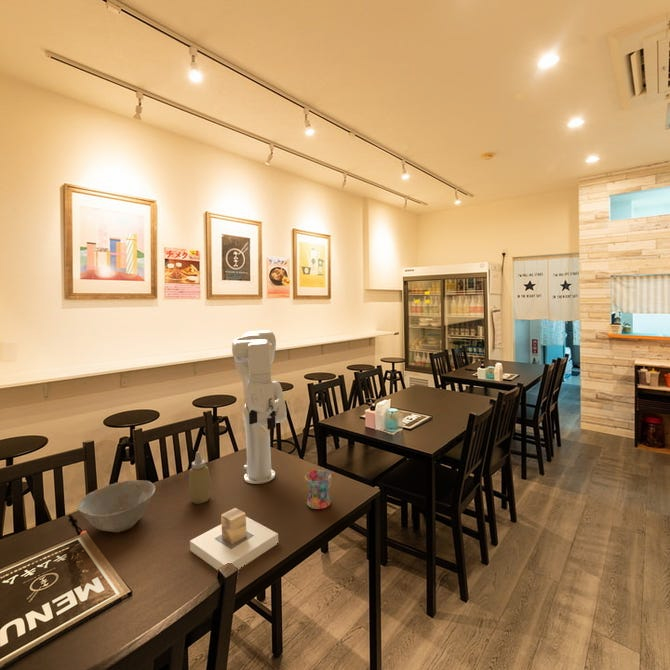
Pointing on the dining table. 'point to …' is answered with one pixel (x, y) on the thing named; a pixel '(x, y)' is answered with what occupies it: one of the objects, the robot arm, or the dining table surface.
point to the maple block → (233, 525)
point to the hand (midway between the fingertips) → (262, 425)
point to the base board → (233, 545)
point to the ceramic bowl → (117, 505)
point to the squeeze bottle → (199, 481)
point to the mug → (318, 488)
